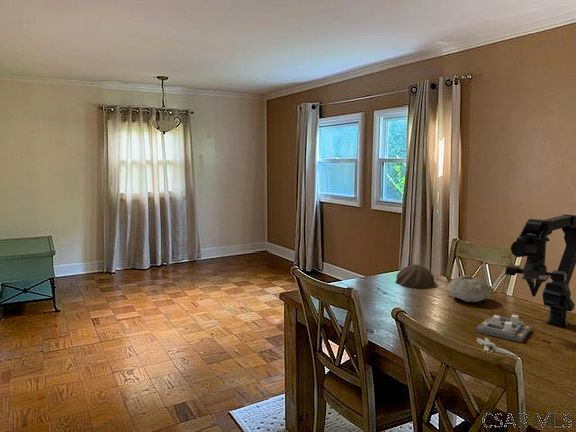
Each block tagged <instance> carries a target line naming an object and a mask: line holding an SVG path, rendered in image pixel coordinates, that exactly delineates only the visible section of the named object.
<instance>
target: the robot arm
mask: <svg viewBox="0 0 576 432" xmlns="http://www.w3.org/2000/svg"><path fill="white" fill-rule="evenodd" d="M560 229H561V232H563V233H564V236H563V240H564V242H565V248H564V250H563V254H562V257H561V258H560V259H561V260H560V262H559V264H558V267H557V270H555V269H554V270H553V271H552V272H549V271H548V268H547V265H546V256H547V255H546V251H547V242H550V240H551V239H550V238H549V237H548V236H549V235H551V234H553V232H554V231H556V230H560ZM510 251H511V253H512V255H513V256H514V257H516V258H521V257H522V258H525V257H526V261H525V262H524V263H525V264H524V266H523V268H521V266H520V265H515V264H509V265H508V266H507V267H505V271H504V274H505V275H508V276H516V275H517V274H521V275H522V277H521V278H522V279H523V280H525V281H526V282H527V285H528V287H529V290H530V293H531V297H536V296H537V293H538V292H539V289H540V287H541V285H542V283H545V287H544V289H543V291H542V300H543V305H544V306H545V307H549V312H548V313H549V315H548V319H547V320H546V322H545V323H546V324H549V325H551V326H552V325H553V326H558V327H563V328H566V327H567V326H568V325H569V323H570V321H569V320H568V312H573V310H574V308H575V303H574V301H573V300H572V298H571V295H572V292H571V290H570V285H569V284H570V282H571V279H572V276H573V273H574V270H575V267H576V214H566V213H565V214H562V215H559V216H558V215H557V216H555V217H554V216H553V217H549V218H547V219H545V218H544V219H541V218H529V219H527V221H526V222H525V224H524V226H523V228H522V230H521V232H520V233H519V236H518V237H516V241H513V242H512V244H511V246H510ZM548 279H551V282H550V281H549V282H546V281H548Z"/></svg>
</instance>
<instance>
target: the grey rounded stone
mask: <svg viewBox="0 0 576 432" xmlns="http://www.w3.org/2000/svg"><path fill="white" fill-rule="evenodd" d="M447 290H448V292H449V294H450V295H451V296H452V297H455V298H457V299H460V300H461V301H463V302H466V303H468V302H469V303H478V302H481V301H483V300H487V299H488V298H489V297H490V296H491V294H492V293H491V287H490V286H489V285H488V283H487V282H485V281H484V280H482V279H481V278H479V277H474V276H471V275H463V276H462V275H461V276H456V277H455V278H452V279H451V280H450V282H448V285H447Z"/></svg>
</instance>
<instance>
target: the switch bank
mask: <svg viewBox="0 0 576 432" xmlns="http://www.w3.org/2000/svg"><path fill="white" fill-rule="evenodd" d="M492 321H493V316H492V317H487V318H485V319H484V320H483V321H482V322H481V323H479V325H478V326H476V328H475V329H476V330H475V332H476V333H478V334H479V333H480V334H484V335H487V336H493V337H496V338H501V339H505V340H509V341H514V342H518V343H523V342H524V340H525V338H526V337H527V336H528V334H529V333H530V331H531V328H532V326H530V325H526V324H524V323H525V322H524V321H522V320H518V322H520V324H519V325H518V324H513V323H512V329H514V331H513V332H509V331H505V330H503V329H504V323H505V322H506V321H507V322H510V321H511V318H507V317H501V316H500V322H501V323H502V325H497V324H493V323H491V322H492Z"/></svg>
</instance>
